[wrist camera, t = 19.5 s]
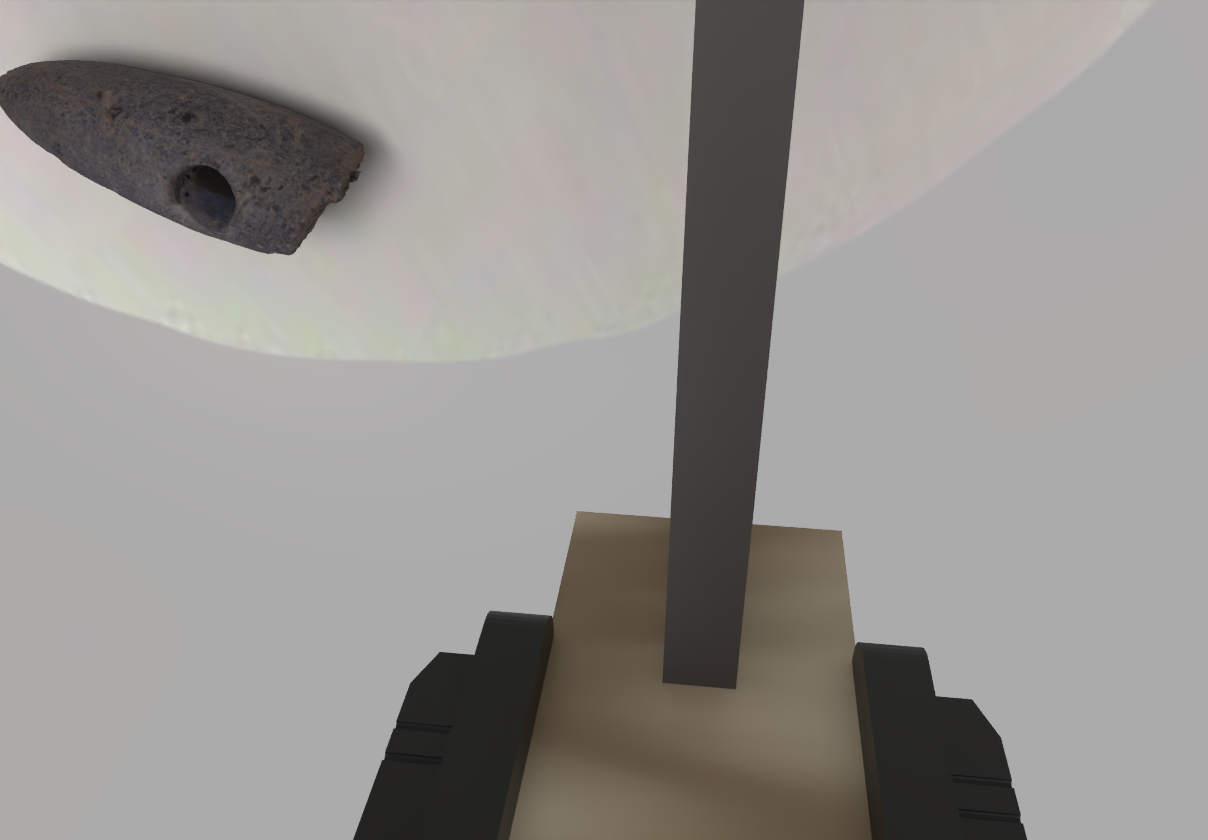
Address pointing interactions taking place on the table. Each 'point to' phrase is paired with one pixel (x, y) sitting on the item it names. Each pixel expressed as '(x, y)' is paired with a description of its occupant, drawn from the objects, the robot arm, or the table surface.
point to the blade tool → (708, 542)
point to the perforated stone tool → (186, 148)
